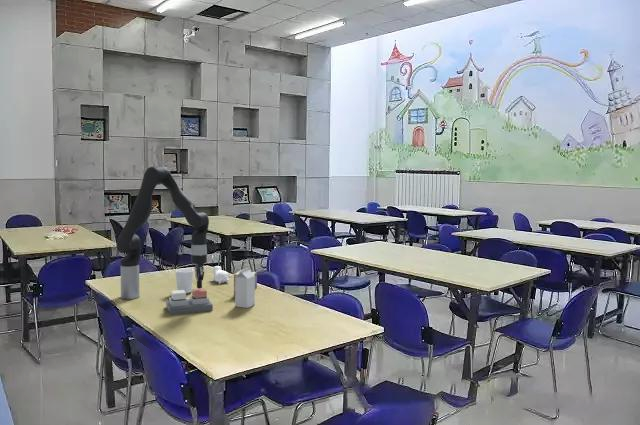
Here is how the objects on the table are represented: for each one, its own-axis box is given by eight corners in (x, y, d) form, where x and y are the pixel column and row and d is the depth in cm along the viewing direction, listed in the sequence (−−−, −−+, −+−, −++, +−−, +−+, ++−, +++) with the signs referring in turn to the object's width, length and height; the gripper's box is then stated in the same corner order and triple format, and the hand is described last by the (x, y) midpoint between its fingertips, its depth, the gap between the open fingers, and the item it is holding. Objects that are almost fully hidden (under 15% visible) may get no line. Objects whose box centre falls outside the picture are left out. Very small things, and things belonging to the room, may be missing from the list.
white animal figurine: (229, 287, 313) (221, 274, 325) (231, 275, 310) (223, 262, 321) (216, 289, 309) (208, 275, 320) (218, 277, 305) (209, 263, 317)
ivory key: (173, 299, 250) (173, 293, 249) (171, 296, 255) (171, 290, 255) (185, 298, 252) (185, 292, 252) (183, 295, 258) (183, 289, 257)
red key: (194, 298, 254) (194, 291, 253) (192, 295, 259) (192, 289, 259) (206, 296, 256) (206, 290, 256) (204, 294, 262) (204, 288, 261)
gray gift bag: (246, 287, 303) (246, 266, 301) (257, 287, 301) (257, 266, 300) (233, 296, 282) (233, 273, 281) (244, 297, 281) (244, 274, 279)
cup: (183, 296, 280) (182, 272, 279) (171, 293, 286) (171, 270, 284) (197, 292, 288) (197, 270, 286) (186, 289, 294) (186, 267, 292)
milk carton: (254, 304, 265) (254, 268, 263) (247, 308, 259) (247, 270, 257) (242, 303, 268) (242, 266, 266) (235, 306, 262) (235, 269, 260)
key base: (170, 314, 246) (170, 303, 245) (166, 307, 259) (166, 296, 258) (212, 310, 254) (212, 299, 253) (206, 303, 267) (206, 292, 266)
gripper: (188, 251, 260) (189, 285, 262) (193, 256, 248) (194, 291, 250) (204, 250, 263) (204, 284, 265) (209, 255, 251) (209, 290, 253)
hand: (199, 288), depth 257 cm, fingers closed
